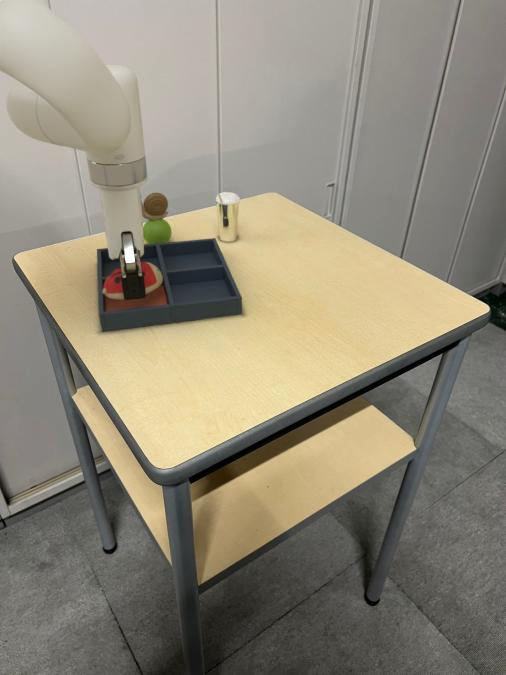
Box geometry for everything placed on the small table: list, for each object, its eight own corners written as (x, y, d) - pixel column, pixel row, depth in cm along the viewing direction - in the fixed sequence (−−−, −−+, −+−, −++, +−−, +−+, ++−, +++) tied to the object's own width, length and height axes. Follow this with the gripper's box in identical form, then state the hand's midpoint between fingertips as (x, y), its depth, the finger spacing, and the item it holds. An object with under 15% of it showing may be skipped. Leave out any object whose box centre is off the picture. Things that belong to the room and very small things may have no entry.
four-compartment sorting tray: (102, 332, 77) (98, 314, 75) (99, 264, 93) (96, 248, 91) (241, 314, 81) (241, 297, 79) (215, 252, 98) (215, 237, 96)
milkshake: (210, 241, 101) (208, 192, 95) (224, 231, 105) (223, 183, 99) (230, 246, 100) (229, 196, 94) (243, 236, 104) (244, 187, 98)
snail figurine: (135, 242, 100) (128, 182, 93) (167, 237, 103) (162, 177, 95) (143, 254, 96) (135, 192, 89) (176, 248, 99) (171, 187, 92)
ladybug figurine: (172, 286, 81) (170, 266, 79) (117, 310, 75) (113, 289, 73) (148, 270, 85) (145, 251, 82) (94, 292, 79) (89, 271, 77)
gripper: (88, 151, 75) (106, 261, 85) (89, 195, 61) (110, 319, 72) (141, 149, 76) (152, 256, 87) (152, 191, 63) (164, 312, 73)
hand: (133, 284), depth 79 cm, fingers closed on ladybug figurine, 7 cm apart
